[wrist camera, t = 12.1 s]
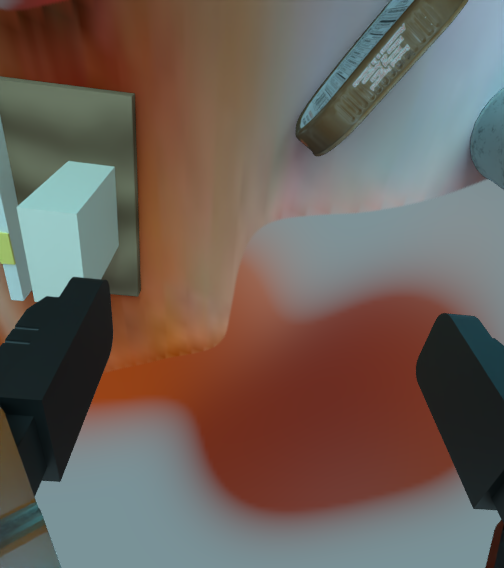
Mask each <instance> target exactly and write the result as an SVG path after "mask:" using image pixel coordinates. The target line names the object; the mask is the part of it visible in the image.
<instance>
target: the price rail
mask: <svg viewBox="0 0 504 568" xmlns="http://www.w3.org/2000/svg"><path fill="white" fill-rule="evenodd" d="M17 206H18V203H17V198H16V192H15V187H14V182H13V177H12V172H11V167H10V162H9V157H8V152H7V147H6V142H5V137H4V132H3V127H2V122H1V117H0V262H1V264H3V267H4V271H5V275H6V279H7V284H8V288H9V292H10V296H11V300H20V301H24V300H25V299H26V297H27V296H28V295H29V293H30V292H31V291H32V285H31V280H30V275H29V270H28V265H27V260H26V254H25V249H24V244H23V239H22V234H21V228H20V223H19V218H18V213H17V208H16V207H17Z"/></svg>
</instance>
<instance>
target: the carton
mask: <svg viewBox="0 0 504 568" xmlns="http://www.w3.org/2000/svg"><path fill="white" fill-rule="evenodd" d="M16 208H17V213H18V218H19V223H20V228H21V234H22V239H23V244H24V249H25V254H26V260H27V265H28V270H29V275H30V280H31V285H32V291H33V296H34V301H35V302H39V301H40V300H41V299H43V298H44V297H46V296H51V297H59V296H60V295H61V293H62V292H63V290H64V289H65V287H66V285H67V284H68V282H69V281H70V279H71V278H72V277H81V278H92V279H102V277H103V275H104V273H105V271H106V269H107V267H108V265H109V263H110V261H111V260H112V258H113V256H114V254H115V252H116V250H117V248H118V246H119V240H118V221H117V201H116V182H115V167H114V166H105V165H97V164H89V163H81V162H73V161H68V162H67V163H65V164H64V165H63V166H62V167H61V168H60V169H59V170H58V171H57V172H55V173H54V174H53V175H52V176H51V177H50V178H49V179H48V180H46V181H45V182H44V183H43V184H42V185H41V186H40V187H39V188H37V189H36V190H35V191H34V192H33V193H32V194H31V195H30V196H28V197H27V198H26V199H25V200H24V201H23V202H22V203H21V204H19V205H18V206H17V207H16Z"/></svg>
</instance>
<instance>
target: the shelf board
mask: <svg viewBox="0 0 504 568" xmlns="http://www.w3.org/2000/svg"><path fill="white" fill-rule="evenodd" d="M0 117H1V122H2V127H3V132H4V137H5V142H6V147H7V152H8V157H9V162H10V167H11V172H12V177H13V182H14V187H15V192H16V198H17V203H18V205H19V204H21V203H22V202H23V201H24V200H25V199H26V198H27V197H28V196H30V195H31V194H32V193H33V192H34V191H35V190H36V189H37V188H39V187H40V186H41V185H42V184H43V183H44V182H45V181H46V180H48V179H49V178H50V177H51V176H52V175H53V174H54V173H55V172H57V171H58V170H59V169H60V168H61V167H62V166H63V165H64V164H65V163H67V162H68V161H73V162H81V163H89V164H97V165H105V166H114V167H115V182H116V201H117V221H118V240H119V246H118V248H117V250H116V252H115V254H114V256H113V258H112V260H111V261H110V263H109V265H108V267H107V269H106V271H105V273H104V275H103V277H102V280H107V281H108V283H109V287H110V294H117V295H128V296H139V293H140V291H141V284H140V251H139V217H138V184H137V150H136V117H135V94H133V93H126V92H118V91H110V90H102V89H94V88H86V87H78V86H71V85H63V84H55V83H47V82H39V81H31V80H24V79H16V78H8V77H0Z"/></svg>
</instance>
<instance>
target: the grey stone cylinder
mask: <svg viewBox="0 0 504 568" xmlns="http://www.w3.org/2000/svg"><path fill="white" fill-rule="evenodd" d="M470 150H471V156H472V160H473V162H474V165H475V167H476V169H477V170H478V171H479V172H480V173H481V174H482V175H483V176H484V177H486V178H487V179H489V180H491V181H493V182H494V183H495V184H497V185H498V186H499V187H501V188H502V189H504V88H502V89H501V90H500V91H499V92H498V93H497V94H496V95H495V96H494V97H493V98H492V99H491V100H490V101H489V102H488V104H487V105H486V106H485V108H484V109H483V110H482V112H481V113H480V115H479V117H478V119H477V121H476V123H475V126H474V129H473V132H472V136H471V146H470Z"/></svg>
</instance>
